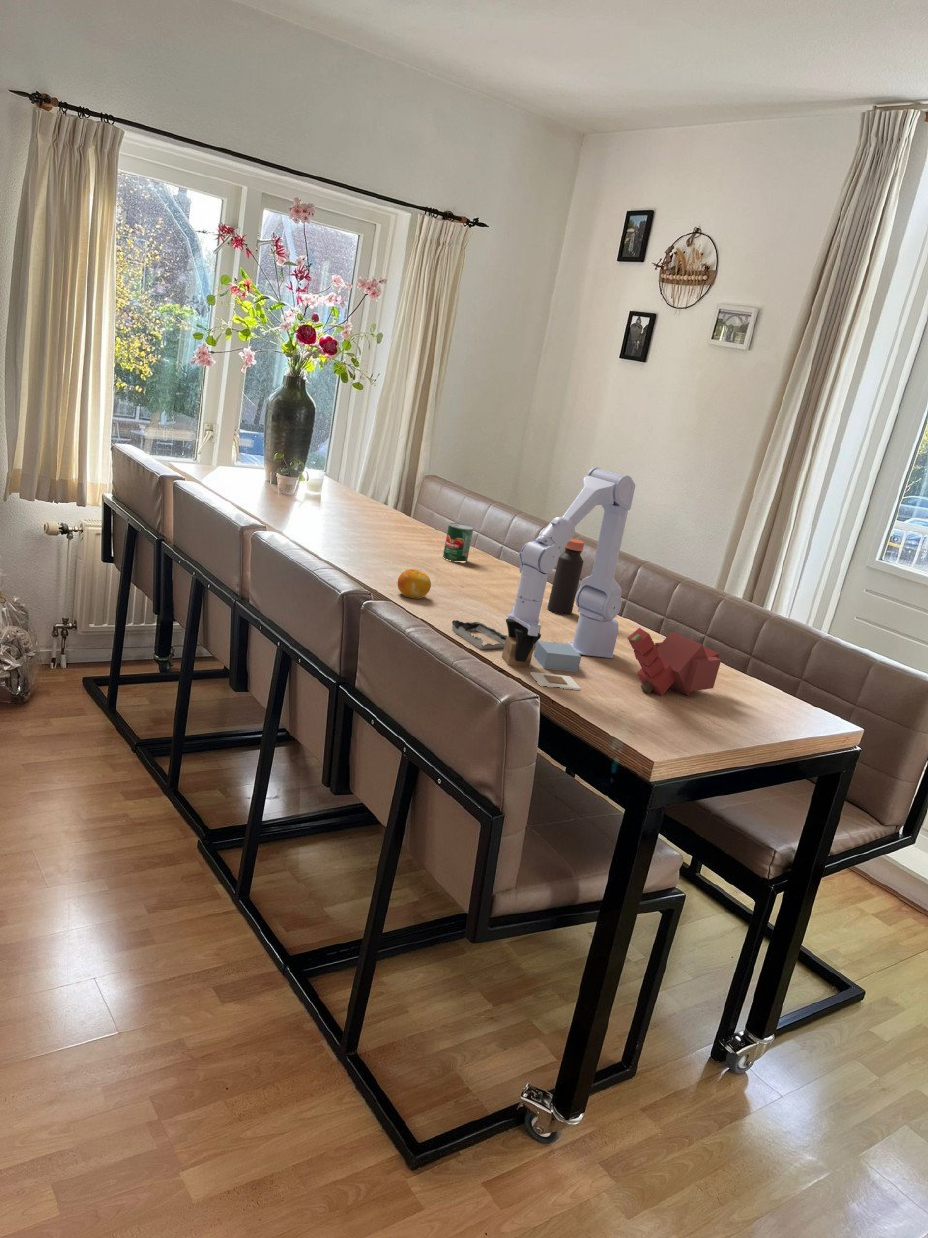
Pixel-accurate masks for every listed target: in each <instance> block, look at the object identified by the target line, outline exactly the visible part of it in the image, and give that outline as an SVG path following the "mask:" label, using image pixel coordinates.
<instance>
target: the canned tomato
mask: <svg viewBox="0 0 928 1238" xmlns="http://www.w3.org/2000/svg"><path fill="white" fill-rule="evenodd" d="M473 533H474V527H473V526H470V525H467V524H464V523H459V522H449V523H448V527H447V532H446V538H445V544H444V549H443V553H442V558H443V557H444V558H445V559H448V560H451V561H467V562H468V558H469V553H470V548H471V544H472V543H471V542H472V537H473ZM445 559H444V560H445Z"/></svg>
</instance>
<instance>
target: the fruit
mask: <svg viewBox="0 0 928 1238" xmlns="http://www.w3.org/2000/svg"><path fill="white" fill-rule="evenodd" d="M397 588H398V591H399V592H400V593H401V594H402V595H403V596H404V597H406V598H410V599H422V598H424V597H426V595H428V594H429V592H430V591H431V588H432V582H431V579H430V577H429V576H428V575H427V574H426V573H425V572H423V571H421V570H418V569H414V568H408V569H405V570H404V571H403V572H401V573H400V575H399V577H398V580H397Z"/></svg>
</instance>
